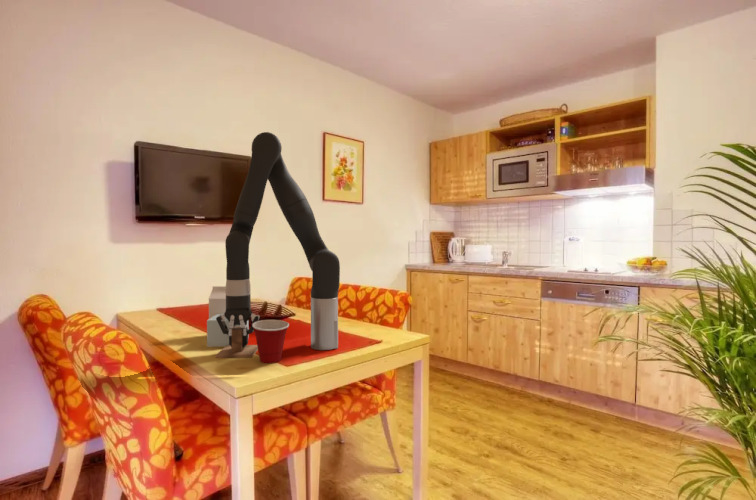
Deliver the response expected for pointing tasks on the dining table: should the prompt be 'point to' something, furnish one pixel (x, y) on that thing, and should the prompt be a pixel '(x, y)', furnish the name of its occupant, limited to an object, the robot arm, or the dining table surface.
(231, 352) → the wooden t-shaped stand
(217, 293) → the milk carton
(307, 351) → the dining table surface
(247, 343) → the robot arm
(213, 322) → the grey storage bin
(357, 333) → the dining table surface
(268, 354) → the plastic cup
